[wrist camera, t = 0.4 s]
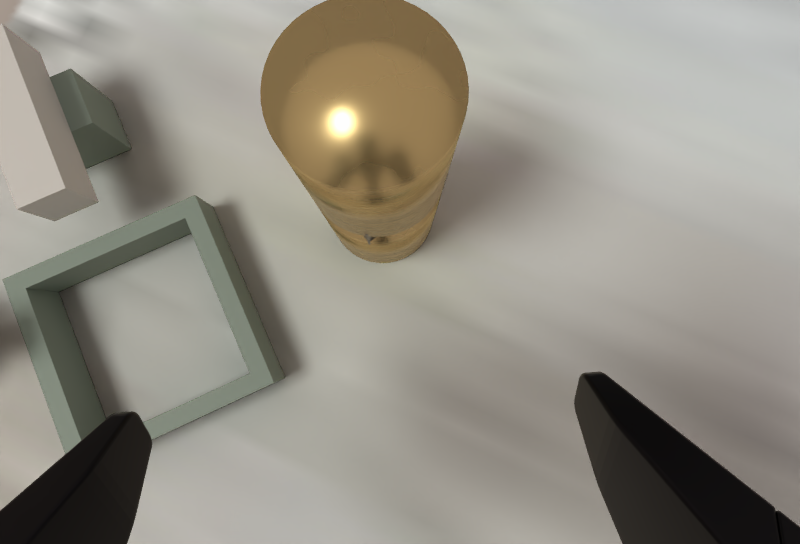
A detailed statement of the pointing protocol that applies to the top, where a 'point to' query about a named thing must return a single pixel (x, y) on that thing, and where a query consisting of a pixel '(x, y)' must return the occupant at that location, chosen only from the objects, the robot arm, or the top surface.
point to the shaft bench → (98, 240)
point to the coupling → (368, 118)
